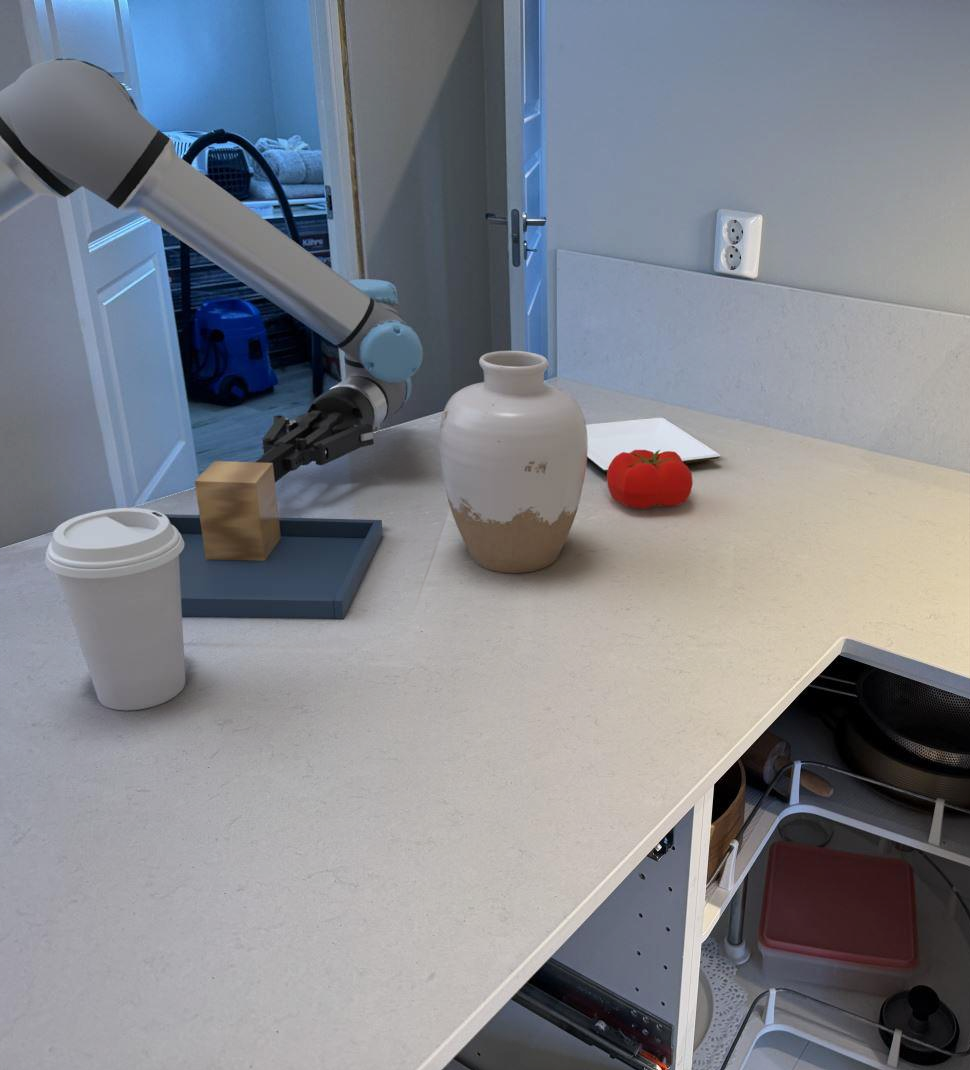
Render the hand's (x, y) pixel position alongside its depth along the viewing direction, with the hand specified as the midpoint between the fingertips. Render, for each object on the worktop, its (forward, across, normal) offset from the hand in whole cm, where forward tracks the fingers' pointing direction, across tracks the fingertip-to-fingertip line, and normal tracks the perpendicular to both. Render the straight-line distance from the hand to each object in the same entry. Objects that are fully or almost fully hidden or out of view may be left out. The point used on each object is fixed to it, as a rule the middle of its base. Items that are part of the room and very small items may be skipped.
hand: (263, 473), depth 111 cm
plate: (-38, -37, -7) cm, 54 cm away
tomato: (-20, -41, -7) cm, 46 cm away
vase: (0, -28, -7) cm, 29 cm away
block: (+6, 0, -7) cm, 9 cm away
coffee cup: (+32, -5, -7) cm, 33 cm away
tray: (+11, -3, -7) cm, 13 cm away
